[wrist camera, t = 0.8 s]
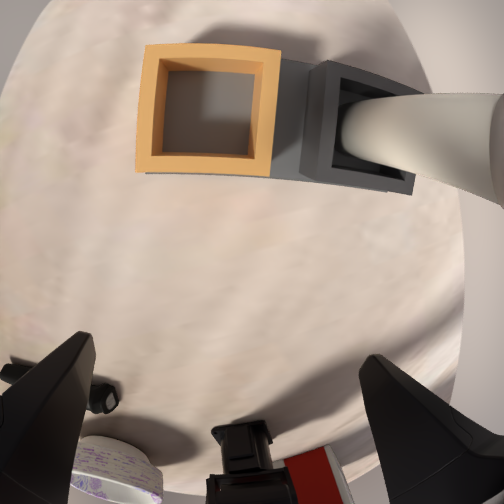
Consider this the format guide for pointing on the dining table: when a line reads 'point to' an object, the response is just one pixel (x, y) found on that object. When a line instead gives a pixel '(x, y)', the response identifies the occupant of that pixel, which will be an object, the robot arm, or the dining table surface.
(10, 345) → the dining table surface
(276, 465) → the arched-top grey box
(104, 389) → the electric trimmer
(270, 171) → the two-tone square organizer tray
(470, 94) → the plug
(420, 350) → the dining table surface
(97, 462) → the paper bowls
